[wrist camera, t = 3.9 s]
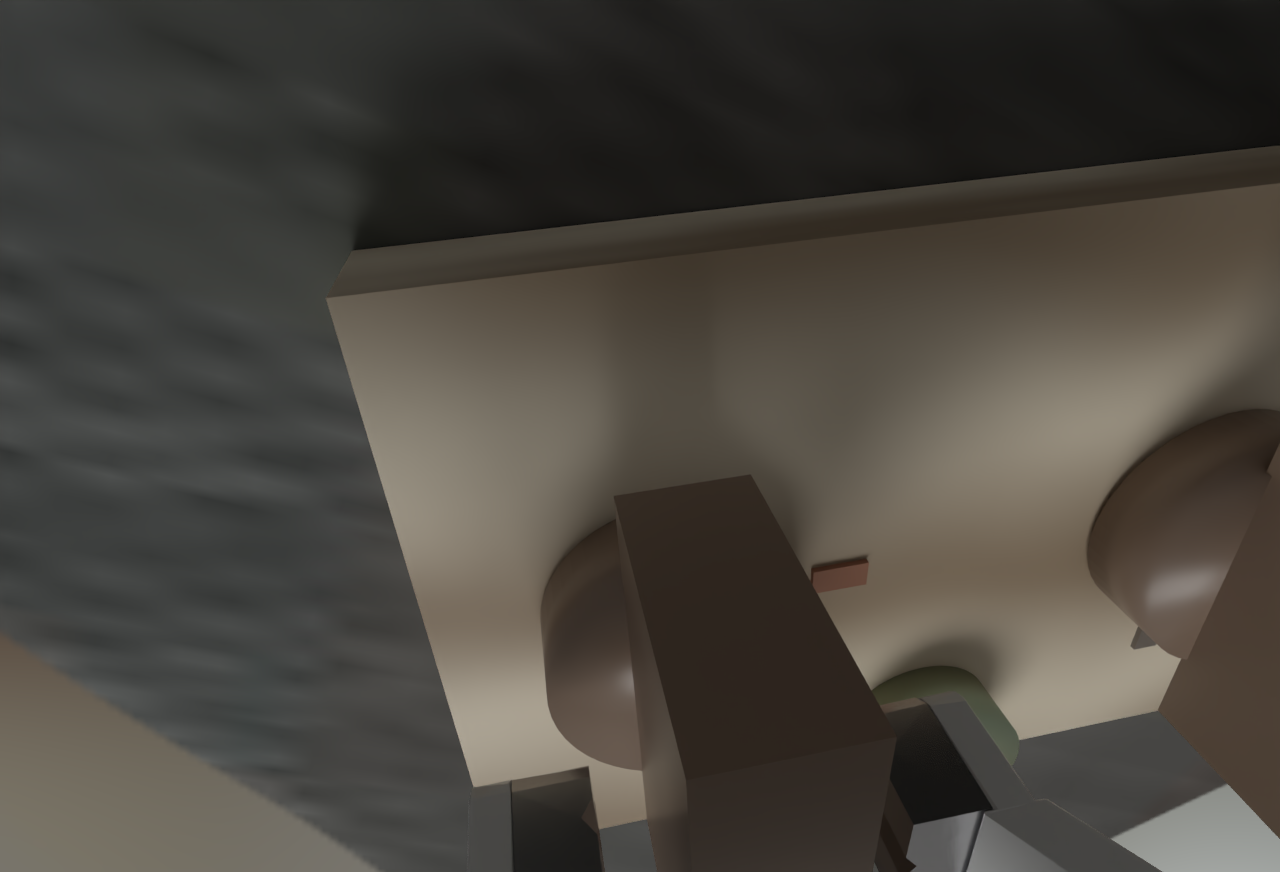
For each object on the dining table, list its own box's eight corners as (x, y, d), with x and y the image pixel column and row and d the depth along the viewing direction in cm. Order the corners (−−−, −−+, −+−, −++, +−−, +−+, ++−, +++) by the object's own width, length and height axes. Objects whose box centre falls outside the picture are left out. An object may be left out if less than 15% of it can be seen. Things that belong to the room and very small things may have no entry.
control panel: (351, 250, 11) (296, 351, 8) (1420, 128, 13) (1716, 169, 10) (493, 768, 17) (495, 937, 14) (1192, 629, 19) (1327, 749, 16)
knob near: (507, 453, 10) (525, 865, 5) (806, 408, 11) (1073, 747, 6) (566, 763, 14) (609, 1176, 9) (788, 718, 14) (943, 1087, 10)
